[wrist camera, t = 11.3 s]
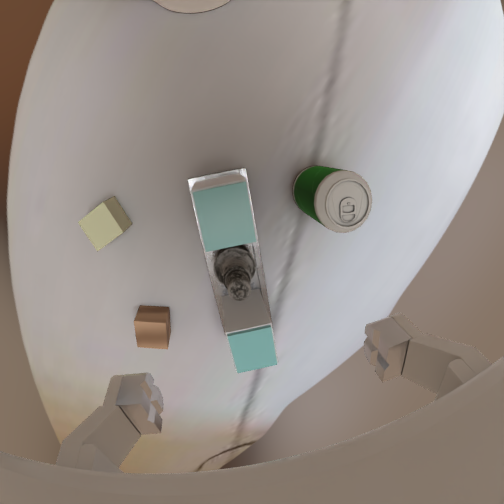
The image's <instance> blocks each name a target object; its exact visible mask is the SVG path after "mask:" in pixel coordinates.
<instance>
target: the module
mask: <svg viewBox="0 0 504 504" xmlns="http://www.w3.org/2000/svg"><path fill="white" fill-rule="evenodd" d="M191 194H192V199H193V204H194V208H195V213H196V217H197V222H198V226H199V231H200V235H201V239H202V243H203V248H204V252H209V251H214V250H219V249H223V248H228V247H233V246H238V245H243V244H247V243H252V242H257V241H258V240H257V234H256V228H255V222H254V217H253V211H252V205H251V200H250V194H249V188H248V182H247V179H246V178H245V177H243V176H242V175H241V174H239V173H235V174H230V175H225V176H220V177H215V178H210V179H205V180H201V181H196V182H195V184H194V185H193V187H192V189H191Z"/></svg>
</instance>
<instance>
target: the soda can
mask: <svg viewBox="0 0 504 504" xmlns="http://www.w3.org/2000/svg"><path fill="white" fill-rule="evenodd" d="M293 196H294V201H295V202H296V204H297V206H298V207H299V208H300V209H301V210H302V211H303V212H304V213H306V214H307V215H309V216H310V217H312V218H313V219H315V220H316V221H318V222H319V223H321V224H322V225H324V226H325V227H326V228H328V229H330V230H332V231H335V232H340V233H347V232H350V231H353V230H355V229H357V228H358V227H360V226H361V225H362V224H363V223H364V221H365V220H366V219H367V217H368V215H369V213H370V210H371V205H372V195H371V190H370V188H369V186H368V184H367V182H366V181H365V180H364V179H363V178H362V177H361V176H360V175H358V174H356V173H354V172H352V171H347V170H341V169H335V168H329V167H323V166H312V167H308V168H306V169H305V170H303V171H302V172H301V173H300V174H299V175H298V176H297V177H296V180H295V182H294V185H293Z"/></svg>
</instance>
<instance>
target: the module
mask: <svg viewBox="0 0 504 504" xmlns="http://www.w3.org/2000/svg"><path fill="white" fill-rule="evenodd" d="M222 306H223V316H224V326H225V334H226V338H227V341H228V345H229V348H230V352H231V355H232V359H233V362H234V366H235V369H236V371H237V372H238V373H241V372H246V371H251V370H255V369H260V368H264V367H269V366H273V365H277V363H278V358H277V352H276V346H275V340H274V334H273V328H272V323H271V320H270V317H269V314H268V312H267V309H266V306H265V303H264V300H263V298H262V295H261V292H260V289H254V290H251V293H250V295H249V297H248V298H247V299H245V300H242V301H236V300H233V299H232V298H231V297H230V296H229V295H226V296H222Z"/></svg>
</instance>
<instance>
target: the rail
mask: <svg viewBox="0 0 504 504" xmlns="http://www.w3.org/2000/svg"><path fill="white" fill-rule="evenodd" d="M235 173H239V174H241V175H242V176H243V177H245V178H246V179H247V174H246V168H239V169H234V170H229V171H224V172H219V173H214V174H209V175H204V176H199V177H195V178H190V179H188V183H189V187H190V192H191V189H192V187H193V185H194V184H195V182H196V181H201V180H205V179H210V178H215V177H220V176H225V175H230V174H235ZM247 182H248V179H247ZM248 188H249V185H248ZM249 194H250V191H249ZM191 197H192V194H191ZM250 200H251V196H250ZM192 202H193V199H192ZM251 205H252V202H251ZM193 206H194V204H193ZM194 211H195V208H194ZM252 211H253V208H252ZM195 215H196V213H195ZM253 217H254V214H253ZM196 220H197V217H196ZM254 222H255V219H254ZM197 224H198V222H197ZM198 228H199V226H198ZM255 228H256V225H255ZM199 233H200V231H199ZM256 234H257V231H256ZM200 237H201V235H200ZM257 240H258V237H257ZM201 241H202V239H201ZM243 245H244V246H245V247H246V248H247V249H248V251H249V253H250V254H251V255H252V256H253V258H254V260H255V263H256V271H255V274H254V276H253V278H252V279H251V284H250V285H251V290H254V289H260V292H261V295H262V298H263V300H264V303H265V306H266V309H267V312H268V314H269V317H270V320H271V314H270V308H269V302H268V296H267V290H266V284H265V278H264V272H263V266H262V260H261V254H260V248H259V243H258V241H257V242H252V243H247V244H243ZM202 246H203V243H202ZM203 250H204V248H203ZM217 251H218V250H214V251H209V252H204V254H205V258H206V262H207V267H208V271H209V275H210V279H211V283H212V287H213V290H214V294H215V298H216V302H217V306H218V310H219V313H220V317H221V321H222V325H223V328H224V332H225V326H224V316H223V306H222V296H226V295H229V294H228V290H227V288H226V287H225V286H224V285H223V284H221V283H220V282H219V281H218V280H217V278H216V277H215V274H214V262H215V256H216V253H217ZM271 323H272V320H271ZM272 328H273V326H272ZM225 336H226V334H225Z"/></svg>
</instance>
